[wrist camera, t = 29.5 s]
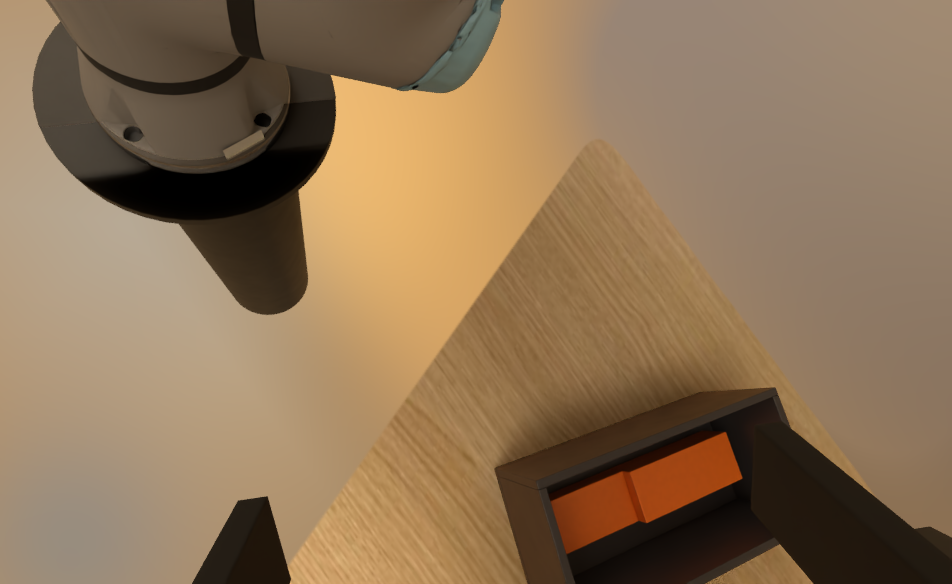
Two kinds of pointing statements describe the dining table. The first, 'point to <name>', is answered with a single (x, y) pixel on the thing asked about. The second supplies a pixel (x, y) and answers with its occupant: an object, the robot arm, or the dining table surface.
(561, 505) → the block
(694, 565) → the open storage bin
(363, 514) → the dining table surface
